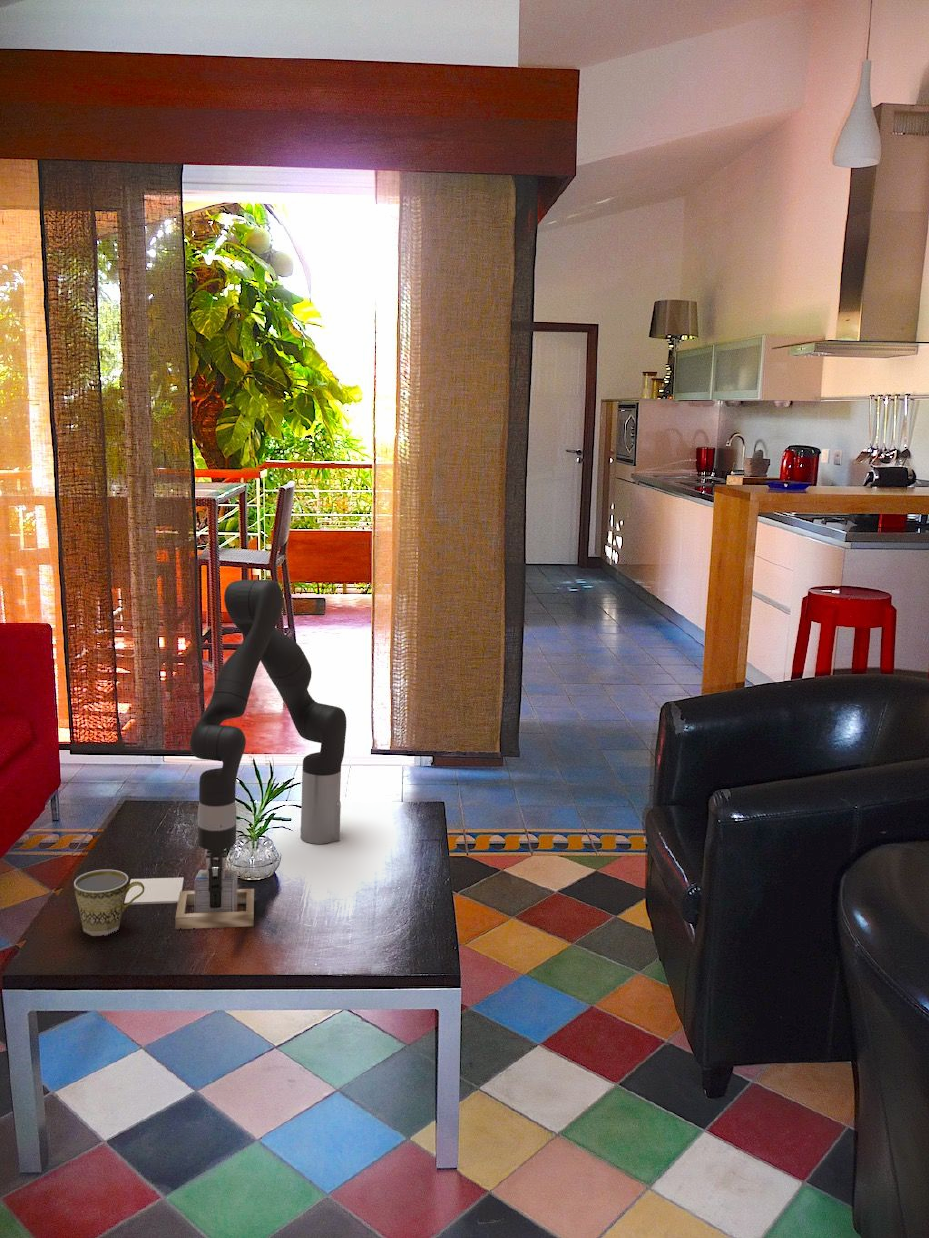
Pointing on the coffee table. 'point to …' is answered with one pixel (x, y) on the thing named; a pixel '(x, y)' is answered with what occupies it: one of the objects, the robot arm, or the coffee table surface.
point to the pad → (155, 891)
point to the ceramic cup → (102, 900)
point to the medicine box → (226, 894)
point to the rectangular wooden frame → (214, 913)
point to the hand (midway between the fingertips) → (216, 900)
